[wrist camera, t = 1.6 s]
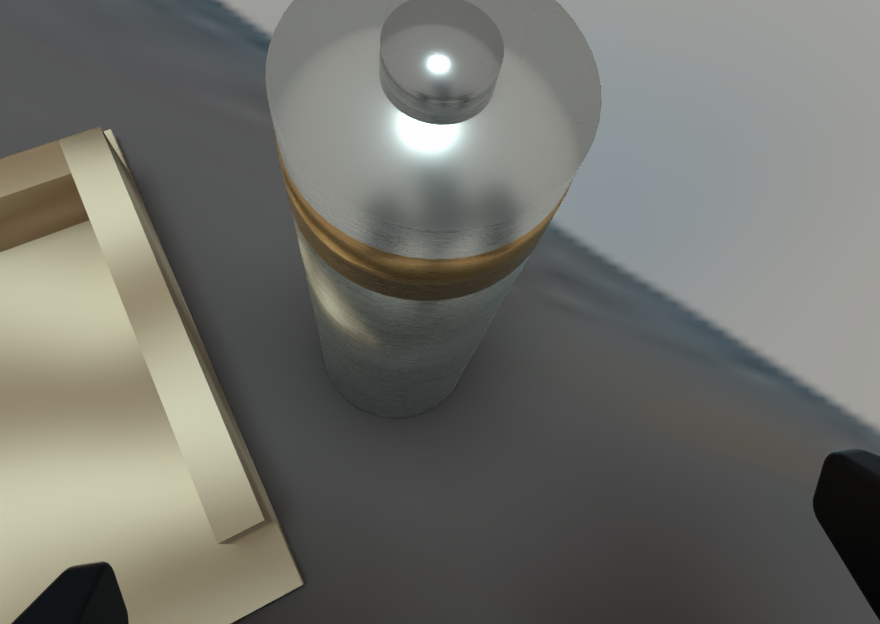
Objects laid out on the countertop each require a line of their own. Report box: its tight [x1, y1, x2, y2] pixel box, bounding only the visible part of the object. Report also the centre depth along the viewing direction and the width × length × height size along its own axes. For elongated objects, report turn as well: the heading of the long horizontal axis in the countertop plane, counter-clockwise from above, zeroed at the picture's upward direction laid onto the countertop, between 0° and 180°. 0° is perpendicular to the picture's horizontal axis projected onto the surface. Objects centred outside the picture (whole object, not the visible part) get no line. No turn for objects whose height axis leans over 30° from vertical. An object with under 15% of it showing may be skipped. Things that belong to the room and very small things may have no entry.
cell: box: [266, 0, 601, 418], centre depth 15 cm, size 5×5×14 cm
